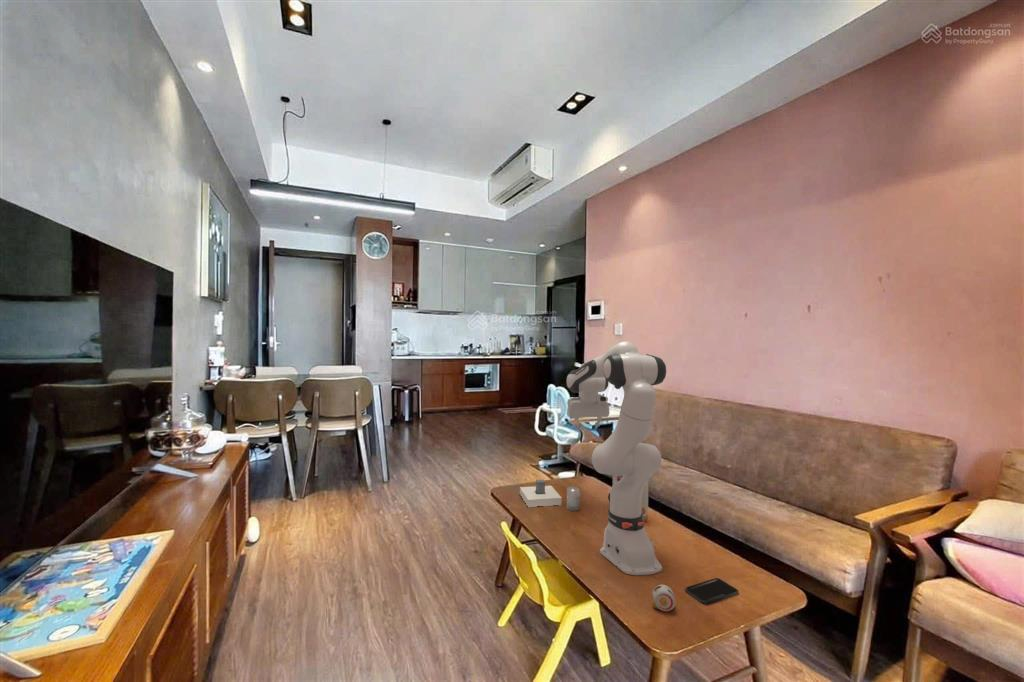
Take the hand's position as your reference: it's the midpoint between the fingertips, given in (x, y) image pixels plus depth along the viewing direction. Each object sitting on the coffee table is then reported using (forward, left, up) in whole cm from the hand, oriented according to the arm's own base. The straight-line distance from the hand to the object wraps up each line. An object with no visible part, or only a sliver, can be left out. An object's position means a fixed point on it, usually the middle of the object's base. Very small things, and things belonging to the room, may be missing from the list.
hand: (587, 426), depth 191 cm
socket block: (+7, +20, -36) cm, 42 cm away
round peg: (-5, +8, -36) cm, 37 cm away
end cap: (-8, -14, -36) cm, 40 cm away
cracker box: (-20, -12, -36) cm, 43 cm away
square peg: (+7, +20, -36) cm, 42 cm away
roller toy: (-75, +7, -36) cm, 83 cm away
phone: (-71, -12, -37) cm, 80 cm away
